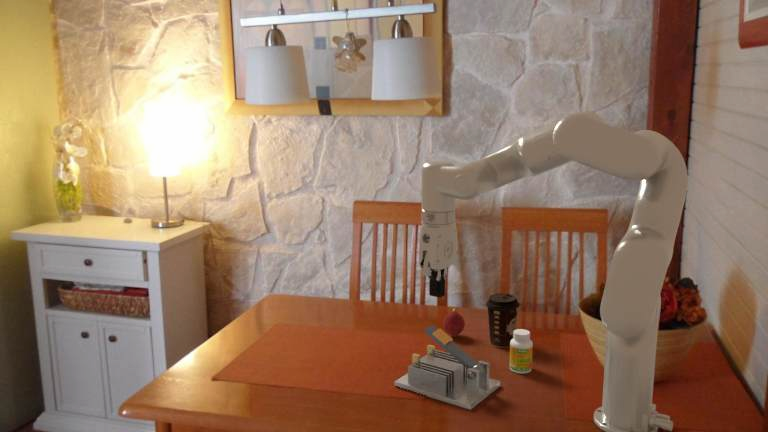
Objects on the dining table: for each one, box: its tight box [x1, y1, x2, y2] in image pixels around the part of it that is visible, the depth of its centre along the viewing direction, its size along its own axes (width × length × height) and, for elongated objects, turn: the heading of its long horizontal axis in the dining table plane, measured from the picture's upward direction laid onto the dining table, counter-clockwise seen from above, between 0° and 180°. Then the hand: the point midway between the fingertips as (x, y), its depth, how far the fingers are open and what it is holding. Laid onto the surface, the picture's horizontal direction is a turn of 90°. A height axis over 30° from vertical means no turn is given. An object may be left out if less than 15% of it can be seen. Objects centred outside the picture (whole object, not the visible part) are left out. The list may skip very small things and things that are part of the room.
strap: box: [423, 324, 486, 376], centre depth 157 cm, size 16×3×2 cm, turn 55°
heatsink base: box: [394, 344, 501, 411], centre depth 159 cm, size 20×14×7 cm
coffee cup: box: [485, 293, 521, 349], centre depth 182 cm, size 9×8×13 cm
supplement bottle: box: [509, 328, 534, 375], centre depth 167 cm, size 5×5×10 cm
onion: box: [442, 308, 466, 338], centre depth 188 cm, size 6×6×8 cm
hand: (437, 295), depth 157 cm, fingers closed
